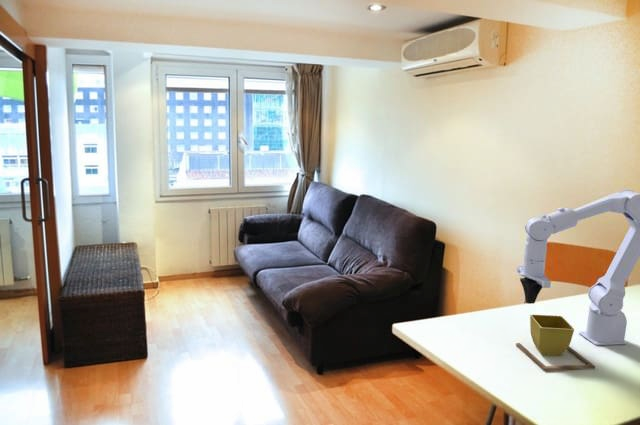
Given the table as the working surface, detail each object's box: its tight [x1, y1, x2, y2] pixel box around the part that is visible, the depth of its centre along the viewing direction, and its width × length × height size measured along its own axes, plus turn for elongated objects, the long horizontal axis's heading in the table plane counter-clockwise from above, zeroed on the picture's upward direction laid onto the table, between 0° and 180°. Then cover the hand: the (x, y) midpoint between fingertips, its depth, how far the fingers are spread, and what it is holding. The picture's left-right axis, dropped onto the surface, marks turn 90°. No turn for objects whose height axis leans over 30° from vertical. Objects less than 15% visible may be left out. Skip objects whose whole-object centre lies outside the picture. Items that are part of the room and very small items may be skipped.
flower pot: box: [529, 314, 575, 357], centre depth 132 cm, size 9×9×9 cm
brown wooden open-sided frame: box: [515, 342, 596, 372], centre depth 130 cm, size 14×14×1 cm
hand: (530, 302), depth 144 cm, fingers closed
